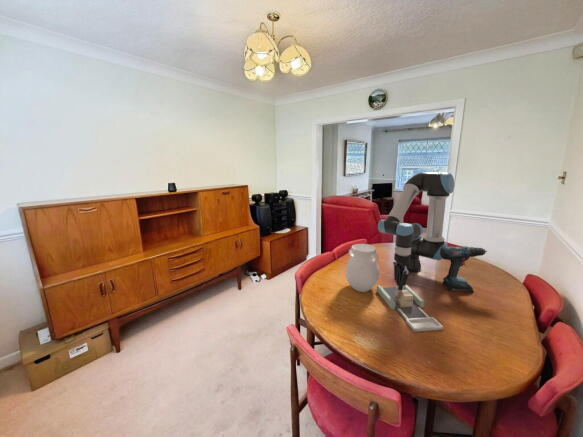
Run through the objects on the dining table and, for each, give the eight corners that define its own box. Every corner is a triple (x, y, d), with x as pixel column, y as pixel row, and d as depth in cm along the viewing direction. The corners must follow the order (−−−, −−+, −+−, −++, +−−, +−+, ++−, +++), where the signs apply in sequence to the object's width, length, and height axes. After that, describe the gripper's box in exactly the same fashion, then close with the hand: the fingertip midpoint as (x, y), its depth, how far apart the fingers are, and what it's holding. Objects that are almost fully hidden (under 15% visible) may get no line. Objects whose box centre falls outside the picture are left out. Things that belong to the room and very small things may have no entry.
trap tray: (405, 321, 114) (405, 318, 114) (432, 319, 115) (433, 316, 114) (414, 331, 107) (414, 328, 107) (442, 329, 108) (443, 326, 108)
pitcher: (383, 286, 145) (386, 246, 140) (369, 299, 132) (371, 255, 127) (354, 277, 158) (356, 240, 152) (339, 288, 145) (340, 247, 139)
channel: (376, 291, 141) (377, 285, 140) (404, 289, 142) (405, 283, 141) (391, 309, 124) (392, 303, 123) (423, 307, 125) (424, 300, 124)
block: (394, 300, 130) (395, 290, 129) (405, 300, 131) (406, 289, 129) (400, 307, 124) (401, 296, 123) (412, 306, 125) (413, 295, 123)
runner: (378, 288, 144) (378, 287, 143) (399, 287, 144) (399, 286, 144) (405, 321, 114) (405, 319, 114) (431, 319, 115) (432, 317, 115)
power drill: (485, 293, 136) (492, 250, 130) (439, 289, 141) (444, 248, 135) (477, 285, 144) (483, 244, 139) (433, 282, 149) (438, 243, 143)
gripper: (389, 249, 133) (386, 289, 138) (401, 258, 120) (397, 302, 125) (403, 248, 133) (399, 288, 138) (416, 258, 120) (411, 301, 126)
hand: (398, 295), depth 132 cm, fingers closed
